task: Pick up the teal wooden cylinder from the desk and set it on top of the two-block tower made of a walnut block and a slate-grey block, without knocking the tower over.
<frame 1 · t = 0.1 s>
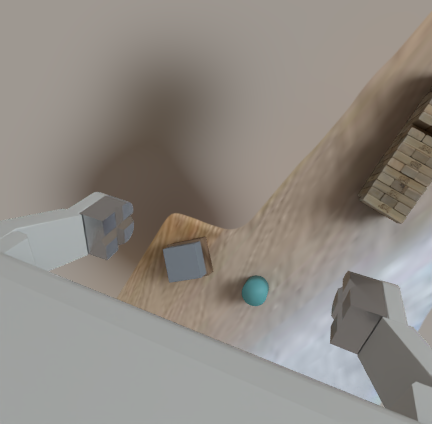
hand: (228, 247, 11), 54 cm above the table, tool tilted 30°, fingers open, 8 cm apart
teal cylinder: (257, 287, 65), on the table
block tower: (415, 146, 57), on the table
slate-grey upper block: (188, 259, 65), point 4 cm above the table
walnut base block: (193, 256, 69), on the table
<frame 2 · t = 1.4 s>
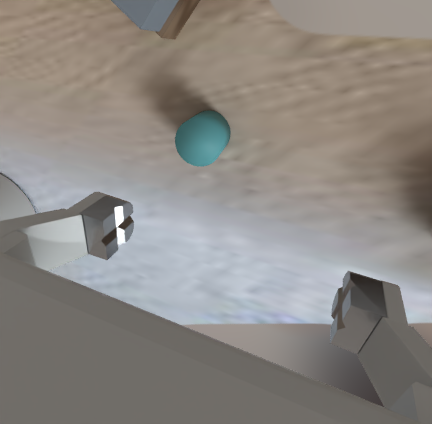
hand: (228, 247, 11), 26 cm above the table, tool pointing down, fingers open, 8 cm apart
teal cylinder: (209, 132, 36), on the table
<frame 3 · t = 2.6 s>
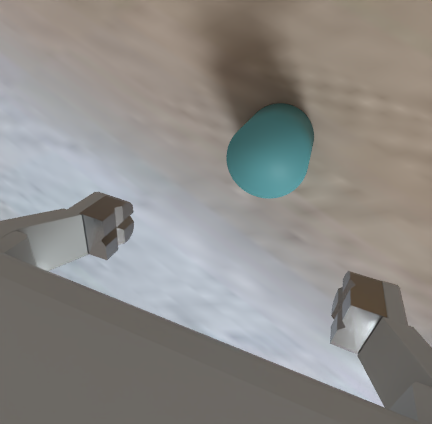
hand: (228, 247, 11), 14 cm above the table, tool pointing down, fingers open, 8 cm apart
teal cylinder: (278, 138, 22), on the table
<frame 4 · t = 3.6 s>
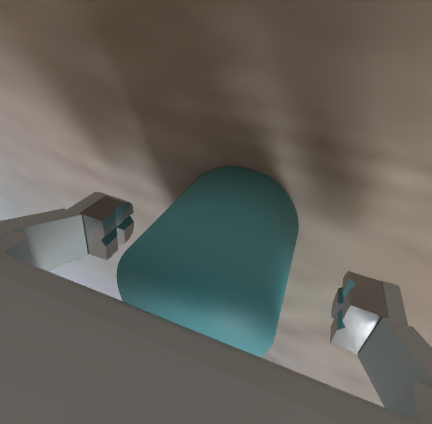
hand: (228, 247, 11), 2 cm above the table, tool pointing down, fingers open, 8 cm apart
teal cylinder: (238, 221, 13), on the table
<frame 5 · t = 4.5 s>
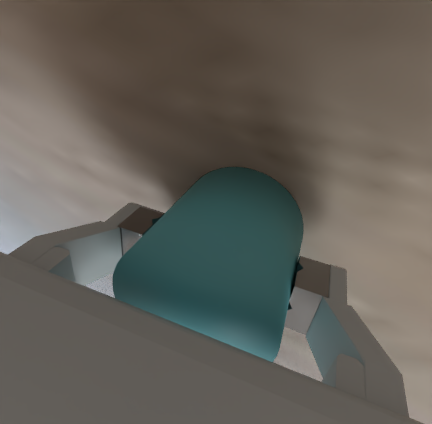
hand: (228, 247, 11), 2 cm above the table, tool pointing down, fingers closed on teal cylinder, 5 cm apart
teal cylinder: (240, 224, 12), on the table, touching gripper
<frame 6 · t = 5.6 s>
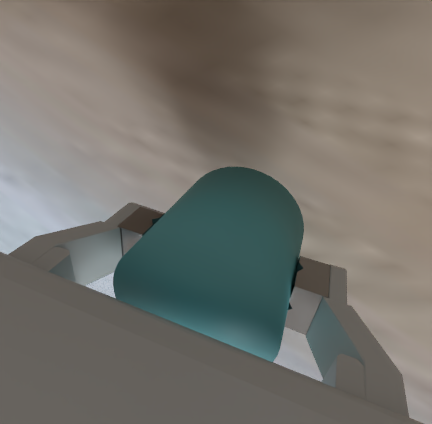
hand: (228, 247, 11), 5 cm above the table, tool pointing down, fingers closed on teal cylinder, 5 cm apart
teal cylinder: (240, 224, 12), point 3 cm above the table, touching gripper
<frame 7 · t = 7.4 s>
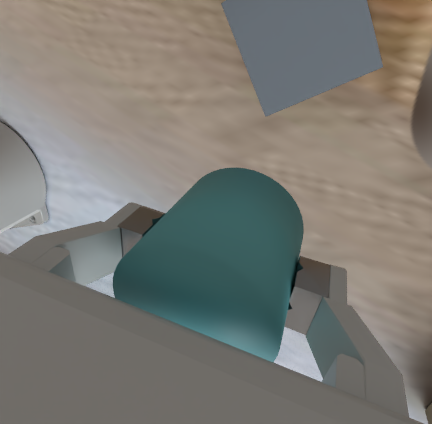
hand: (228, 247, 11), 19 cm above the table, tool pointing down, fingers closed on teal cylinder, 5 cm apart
teal cylinder: (240, 224, 12), point 18 cm above the table, touching gripper
slate-grey upper block: (306, 33, 20), point 4 cm above the table, touching walnut base block
when the fingers open (11 cm above the table, at t = 10.7 s): teal cylinder drops 1 cm, resting on slate-grey upper block.
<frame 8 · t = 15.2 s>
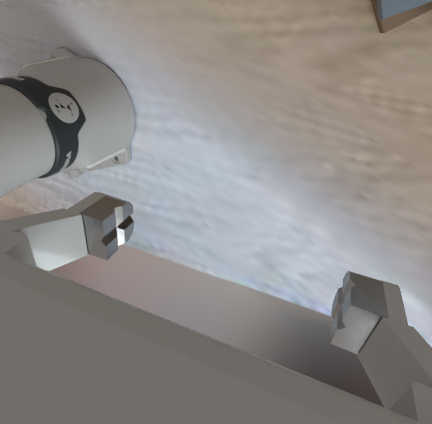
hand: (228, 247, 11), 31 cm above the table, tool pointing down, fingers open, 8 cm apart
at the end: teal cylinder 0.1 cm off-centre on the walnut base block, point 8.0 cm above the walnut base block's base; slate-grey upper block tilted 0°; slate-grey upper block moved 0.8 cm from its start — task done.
